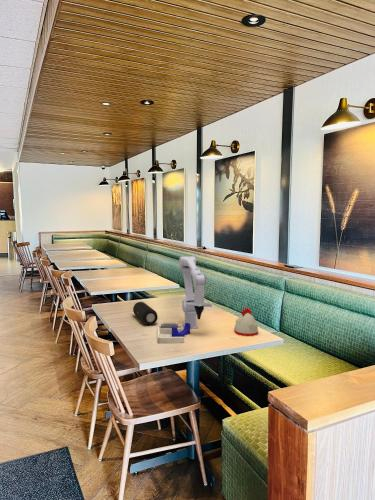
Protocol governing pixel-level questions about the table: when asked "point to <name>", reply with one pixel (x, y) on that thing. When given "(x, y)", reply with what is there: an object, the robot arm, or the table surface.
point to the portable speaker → (145, 313)
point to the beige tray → (169, 339)
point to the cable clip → (183, 332)
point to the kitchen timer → (246, 324)
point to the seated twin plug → (169, 325)
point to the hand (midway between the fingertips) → (198, 318)
